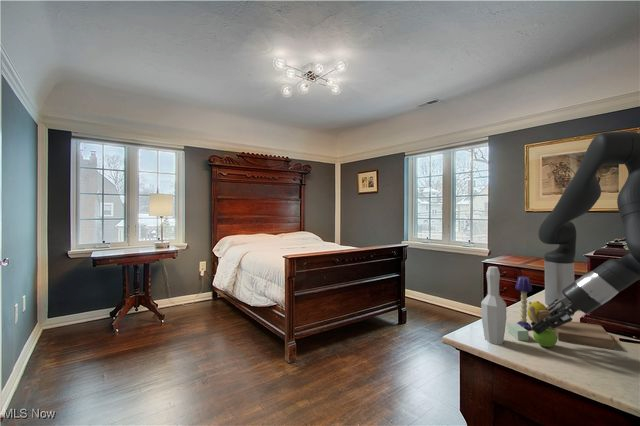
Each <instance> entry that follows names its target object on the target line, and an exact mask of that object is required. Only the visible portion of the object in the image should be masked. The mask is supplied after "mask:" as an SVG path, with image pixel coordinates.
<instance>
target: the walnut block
mask: <svg viewBox="0 0 640 426" xmlns="http://www.w3.org/2000/svg"><path fill="white" fill-rule="evenodd" d="M552 330H553V331H554V332H555V333H556V335H557V342H558V341H559V342H565V343H570V344H577V345H584V346H590V347H595V348H596V347H597V348H602V349H608V350H614V349H615V348H614V345H615V344H614V342H615V341H614V339H613V338H612V337H611V335H610V334H609V333H608V332H607V331H606V330H605V329H604V327H603V326H602V325H601V324H596V323H595V324H594V323H586V322H578V321H573V320H572V321H570V322H568V323H565V324H563V325H561V326H559V327H556V328H554V329H553V328H552Z"/></svg>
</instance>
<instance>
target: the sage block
mask: <svg viewBox="0 0 640 426" xmlns="http://www.w3.org/2000/svg"><path fill="white" fill-rule="evenodd" d="M517 323H518V322H513V323H512V322H511V323H509V322H508V323H507V322H506V331H507V334H509V335H510V336H511V337H513V338H514V339H515V340H516V341H526V342H527V341H529V330H526V329H525V328H523V327H522V326H520V325H519V324H517Z"/></svg>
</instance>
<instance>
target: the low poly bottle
mask: <svg viewBox="0 0 640 426" xmlns="http://www.w3.org/2000/svg"><path fill="white" fill-rule="evenodd" d="M500 276H501V273H500V270H499V267H497V266H488V268H487V271H486V282H487V295H486V296H485V297H484V298H483V299H482V301H480V302H481V303H480V308H481V309H480V310H481V312H480V313H481V315H480V316H481V321H482V329H483V334H484V335H483V336H484V341H486V340H487V341H486V342H487V343H489V342H490V343H489V344H493V343H494V345H502V344H503V343H504V341H505V334H506V333H505V332H506V327H507V302H505V300H504V299H503V298H502V297H501V296H500V278H501V277H500Z"/></svg>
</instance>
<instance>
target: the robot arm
mask: <svg viewBox="0 0 640 426" xmlns="http://www.w3.org/2000/svg"><path fill="white" fill-rule="evenodd" d="M604 165H624V166H625V167H626V169H627V177H626V181H625V183H624V184H623V186H622V187H621V189H620V190H619V192H618V194H617V201H616V203H617V209H618V213H619V216H620V220H621V222H622V224H623V227H624V228H623V229H624V237H625V242H626V243H625V244H626V246H627V249H628V253H627V254H625V255H624V256H621V257H619V258H618V259H615V258H611V259H608V260H606V261H604V262H603V263H602V264H600V265H598V266H597V267H596V268H594V269H593V270H591V271H589V272H588V273H586V274H583V275H582V276H580V278H579V277H578V279H576V280H575V257H576V250H577V249H576V246H577V228H576V226H575V224H574V223H573V220H575V219H577V218H580V217H581V216H583V215H585V214H586V213H588V212H590V211H591V210H592V208H593V207H594V206H595V204H596V203H597V202H598V200H599V199H600V197H601V194H602V188H601V185H600V182H599V180H598V177H597V173H598V172H599V170H600V169H601V167H602V166H604ZM562 192H563V193H562V194H561V196H560V198H559V200H558V201H557V203H556V205H555V206H554V208H553V209H552V210H551V212H550V213H549V214H548V215H547V216H546V217H545V218H544V220H543V221H542V223H541V224H540V226H539V229H538V239H539V240H540V242H542V243H543V244H544V245H545V244H546V245H559V246H558V247H557V248H556V249H554V250H551V251H548V252H546V253H545V254H544V259H543V260H544V303H545V304H546V305H547V307H546V309H544V310H549V312H548V314H549V315H548V316H546V317H545V318H543V320H541V321H539V322H538V323H535V322H534V321H531V322H530V325H531V328H532V329H531V330H533V332H534V331H535V332H536V333H537V334H539V333H541V332H543V331H544V330H546V329H547V328H549V327H550V328H551V327H552V330H553V329H554V328H556V327H559V326H561V325H563V324H565V323H568V322H570V321H572V322H573V318H572V317H573V316H575V313H576V312H578V311H579V310H580V311H581V312H582V313H583V314H587V315H588V314H589V313H591V312H593V311H594V310H596V309H598V308H599V307H601V306H602V305H604V304H605V303H607V302H609V301H610V300H612V299H613V298H614V297H615V296H617V294H619V293H620V292H622V291H624V290H625V289H627V288H628V287H629V286H631V285H633V284H634V283H635V282H637V281H639V280H640V132H638V131H608V132H601V133H599V134H597V135H595V136H594V137H593V139H592V140H591V141H590V143H589V144H588V147H587V149H586V151H585V153H584V156H583V158H582V159H581V162H580V164H579V165H578V168H577V170H576V172H575V174H574V176H573V177H572V179H571V180H570V182H569V183H568V185H567V187H565V190H564V191H562ZM552 320H555V321H554V322H552Z"/></svg>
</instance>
